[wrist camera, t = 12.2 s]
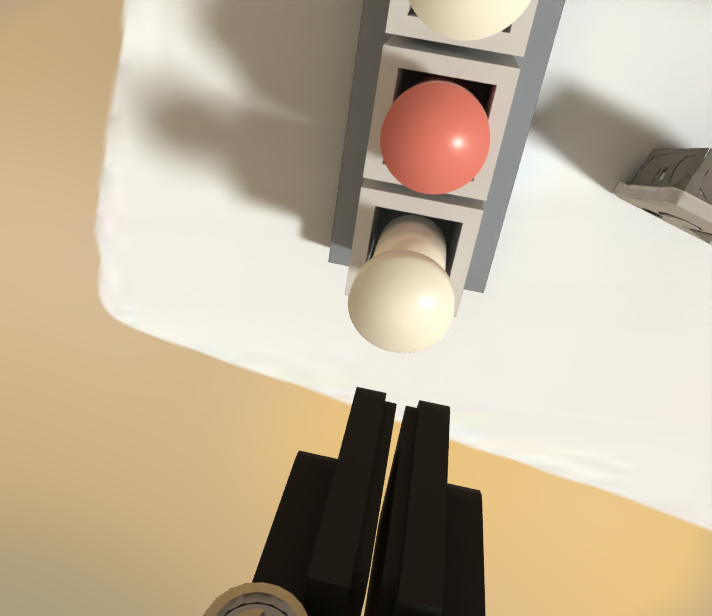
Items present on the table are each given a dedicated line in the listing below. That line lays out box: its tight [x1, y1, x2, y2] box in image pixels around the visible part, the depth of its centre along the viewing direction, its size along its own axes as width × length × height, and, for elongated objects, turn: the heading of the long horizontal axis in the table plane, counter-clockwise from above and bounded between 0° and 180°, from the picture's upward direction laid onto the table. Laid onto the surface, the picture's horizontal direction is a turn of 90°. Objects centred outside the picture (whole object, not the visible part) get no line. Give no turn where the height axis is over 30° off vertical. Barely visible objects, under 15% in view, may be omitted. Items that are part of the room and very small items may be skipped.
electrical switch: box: [614, 148, 712, 245], centre depth 40 cm, size 9×5×9 cm, turn 66°
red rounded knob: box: [380, 74, 490, 194], centre depth 36 cm, size 6×6×8 cm
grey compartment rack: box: [328, 0, 565, 317], centre depth 39 cm, size 12×26×10 cm, turn 172°
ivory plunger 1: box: [348, 215, 455, 353], centre depth 37 cm, size 6×6×8 cm
